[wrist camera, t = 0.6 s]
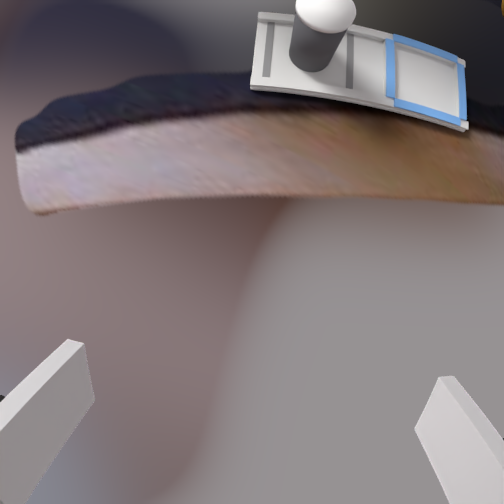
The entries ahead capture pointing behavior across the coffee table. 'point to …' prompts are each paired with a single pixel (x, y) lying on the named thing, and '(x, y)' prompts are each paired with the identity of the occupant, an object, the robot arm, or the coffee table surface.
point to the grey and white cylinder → (319, 31)
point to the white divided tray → (366, 72)
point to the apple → (503, 7)
